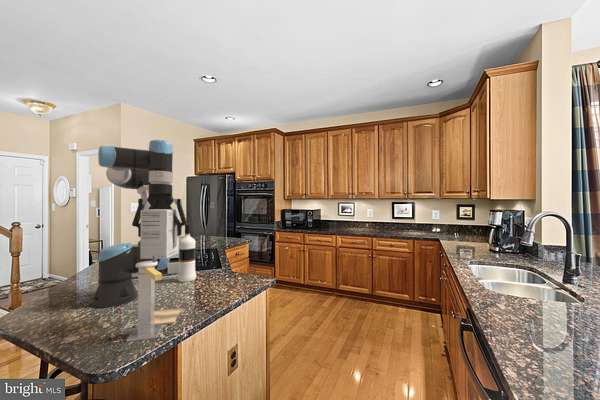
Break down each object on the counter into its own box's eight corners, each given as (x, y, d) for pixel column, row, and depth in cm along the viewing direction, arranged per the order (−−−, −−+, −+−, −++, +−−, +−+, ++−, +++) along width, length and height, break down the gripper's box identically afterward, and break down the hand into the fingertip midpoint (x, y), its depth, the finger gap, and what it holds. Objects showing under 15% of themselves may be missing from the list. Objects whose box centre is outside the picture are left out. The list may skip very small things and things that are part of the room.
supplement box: (154, 253, 96) (154, 209, 97) (179, 253, 97) (179, 209, 97) (139, 259, 87) (139, 209, 87) (166, 258, 87) (167, 209, 87)
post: (136, 328, 83) (137, 270, 84) (163, 325, 85) (164, 268, 86) (126, 341, 75) (127, 277, 76) (156, 338, 77) (156, 275, 78)
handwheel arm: (146, 283, 69) (146, 265, 69) (133, 271, 81) (133, 256, 81) (170, 278, 73) (170, 262, 73) (154, 268, 85) (154, 254, 85)
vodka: (185, 283, 131) (185, 225, 131) (173, 281, 135) (173, 224, 136) (200, 278, 139) (200, 223, 140) (188, 276, 143) (188, 223, 144)
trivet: (146, 312, 96) (146, 311, 96) (181, 309, 99) (181, 307, 99) (134, 327, 84) (134, 325, 84) (174, 323, 87) (174, 321, 87)
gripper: (120, 182, 86) (119, 248, 85) (192, 183, 91) (192, 245, 91) (129, 184, 93) (129, 245, 93) (195, 185, 98) (195, 242, 98)
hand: (160, 245), depth 92 cm, fingers closed on supplement box, 10 cm apart
